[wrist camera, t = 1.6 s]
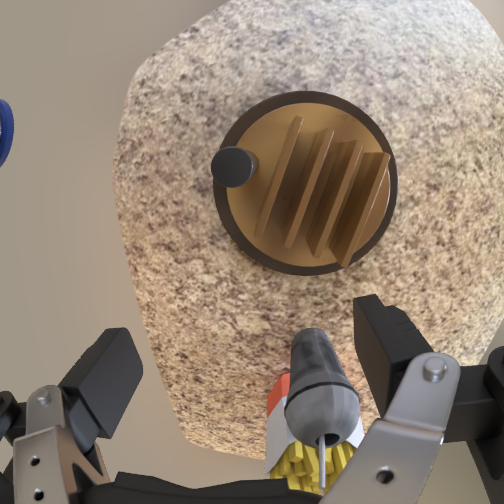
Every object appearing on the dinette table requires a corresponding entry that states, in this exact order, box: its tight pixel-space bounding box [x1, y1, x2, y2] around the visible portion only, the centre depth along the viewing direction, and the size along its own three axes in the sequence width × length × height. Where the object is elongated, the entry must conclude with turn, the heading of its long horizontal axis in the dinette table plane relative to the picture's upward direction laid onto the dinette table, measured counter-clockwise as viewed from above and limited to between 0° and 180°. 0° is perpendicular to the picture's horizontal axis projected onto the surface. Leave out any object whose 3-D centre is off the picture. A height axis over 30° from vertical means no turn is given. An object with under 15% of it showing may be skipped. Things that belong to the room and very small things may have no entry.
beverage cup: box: [284, 328, 360, 489], centre depth 27 cm, size 7×7×20 cm
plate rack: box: [211, 103, 391, 268], centre depth 23 cm, size 16×16×12 cm
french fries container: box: [265, 373, 364, 495], centre depth 30 cm, size 5×11×18 cm, turn 67°
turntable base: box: [213, 91, 398, 276], centre depth 30 cm, size 19×19×2 cm
